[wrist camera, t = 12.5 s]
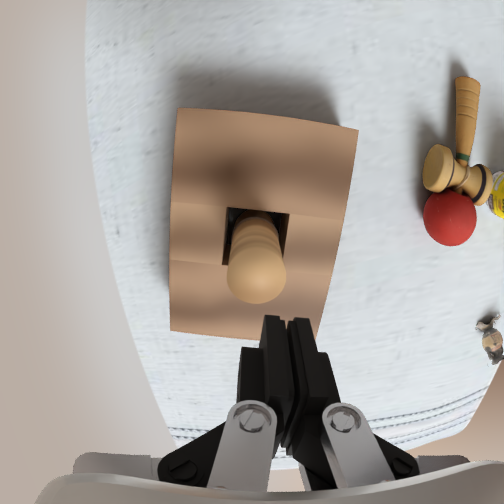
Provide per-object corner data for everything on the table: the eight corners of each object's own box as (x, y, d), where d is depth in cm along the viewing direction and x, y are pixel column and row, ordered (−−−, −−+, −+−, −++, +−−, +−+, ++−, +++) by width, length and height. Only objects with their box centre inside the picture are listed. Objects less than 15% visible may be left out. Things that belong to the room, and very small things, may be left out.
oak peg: (236, 201, 29) (227, 245, 18) (276, 205, 29) (292, 252, 18) (232, 239, 31) (222, 302, 19) (271, 243, 31) (282, 307, 20)
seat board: (190, 111, 26) (177, 107, 21) (341, 129, 27) (358, 130, 22) (180, 304, 33) (170, 330, 29) (306, 316, 34) (314, 343, 29)
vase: (492, 340, 37) (508, 364, 31) (467, 348, 38) (482, 374, 32) (500, 313, 35) (519, 336, 29) (474, 321, 36) (493, 346, 30)
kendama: (421, 70, 25) (399, 232, 29) (462, 60, 19) (441, 248, 23) (465, 97, 27) (446, 242, 31) (504, 94, 21) (485, 257, 25)
